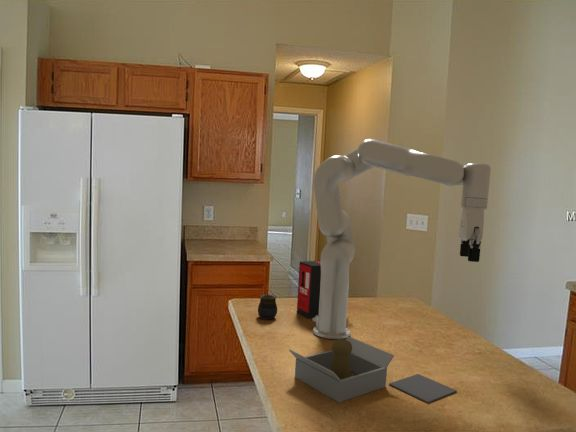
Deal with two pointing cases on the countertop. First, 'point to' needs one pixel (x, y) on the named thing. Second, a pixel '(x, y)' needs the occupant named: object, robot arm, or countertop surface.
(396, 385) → the rubber mat
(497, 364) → the countertop surface
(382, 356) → the carton
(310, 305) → the cleaning product box
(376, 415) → the countertop surface
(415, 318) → the countertop surface
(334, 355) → the cork
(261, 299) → the mate gourd
